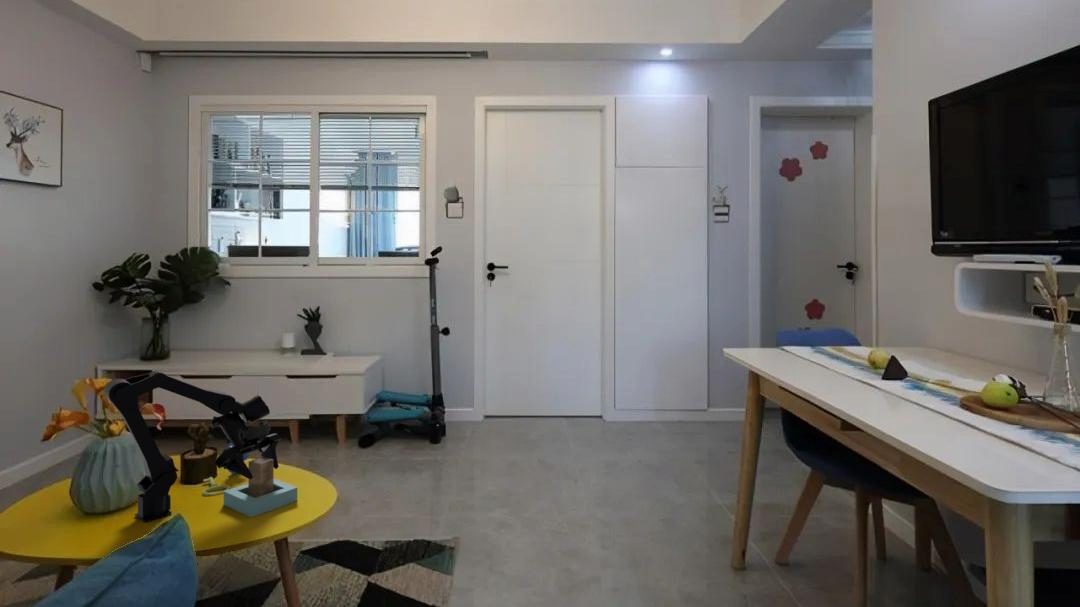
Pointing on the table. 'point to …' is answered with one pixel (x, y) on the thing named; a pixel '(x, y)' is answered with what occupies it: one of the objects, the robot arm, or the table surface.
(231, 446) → the grapes
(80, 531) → the table surface
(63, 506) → the table surface
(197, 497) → the table surface
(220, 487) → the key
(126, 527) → the table surface
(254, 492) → the walnut block
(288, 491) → the box
